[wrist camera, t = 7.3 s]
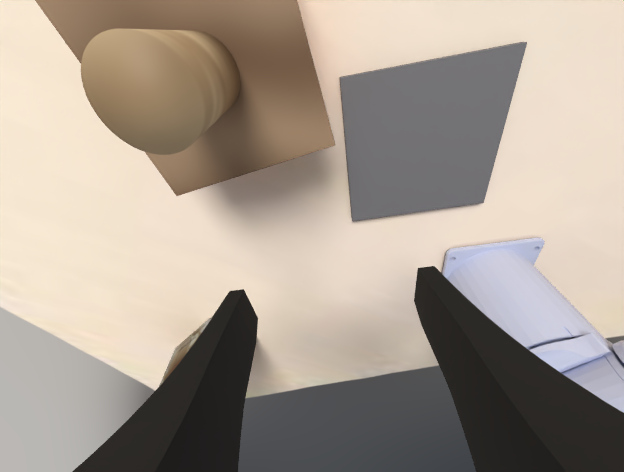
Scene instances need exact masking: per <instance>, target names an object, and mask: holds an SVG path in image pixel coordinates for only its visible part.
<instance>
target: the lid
mask: <svg viewBox="0 0 624 472" xmlns="http://www.w3.org/2000/svg"><path fill="white" fill-rule="evenodd" d="M35 1H36V2H37V3H38V5H39V6H40V8H41V9H42V10H43V12H44V13H45V15H46V16H47V17H48V19H49V20H50V21H51V23H52V24H53V26H54V27H55V28H56V30H57V31H58V32H59V34H60V35H61V37H62V38H63V39H64V41H65V42H66V44H67V45H68V46H69V48H70V49H71V50H72V52H73V53H74V55H75V56H76V57H77V59H78V60H79V62H80V63H81V76H82V82H83V87H84V90H85V93H86V95H87V98H88V100H89V102H90V104H91V106H92V107H93V109H94V111H95V112H96V114H97V115H98V117H99V118H100V119H101V120H102V122H103V123H104V124H105V125H106V126H107V127H108V128H109V129H110V130H111V131H112V132H113V133H114V134H115V135H116V136H118V137H119V138H120V139H122V140H123V141H124V142H126V143H128V144H129V145H131V146H133V147H135V148H137V149H139V150H142V151H145V153H146V154H147V155H148V157H149V158H150V160H151V161H152V162H153V164H154V165H155V167H156V168H157V169H158V171H159V172H160V173H161V175H162V176H163V178H164V179H165V180H166V182H167V183H168V184H169V186H170V187H171V189H172V190H173V191H174V193H175V194H176V196H179V195H182V194H185V193H188V192H191V191H194V190H197V189H200V188H203V187H207V186H210V185H213V184H216V183H219V182H222V181H225V180H228V179H231V178H235V177H238V176H241V175H244V174H247V173H250V172H253V171H256V170H259V169H263V168H266V167H269V166H272V165H275V164H278V163H281V162H284V161H287V160H291V159H294V158H297V157H300V156H303V155H306V154H309V153H312V152H315V151H319V150H322V149H325V148H328V147H331V146H334V145H335V142H334V138H333V135H332V131H331V127H330V123H329V120H328V116H327V112H326V108H325V105H324V101H323V97H322V93H321V90H320V86H319V82H318V78H317V74H316V71H315V67H314V63H313V59H312V56H311V52H310V48H309V44H308V41H307V37H306V33H305V29H304V26H303V22H302V18H301V14H300V11H299V7H298V3H297V0H35Z"/></svg>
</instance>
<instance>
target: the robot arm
mask: <svg viewBox="0 0 624 472" xmlns="http://www.w3.org/2000/svg"><path fill="white" fill-rule="evenodd" d="M544 242H545V241H544V240H543V239H542V238H530V239H522V240H514V241H506V242H499V243H491V244H483V245H475V246H467V247H459V248H452V249H449V250H448V251H447V252H446V256H445V261H444V266H443V271H442V273H441V272H440V271H439V270H438V269H437V268H436V267H434V266H431V267H423V268H418V272H417V281H416V290H415V298H414V302H415V305H416V308H417V312H418V315H419V318H420V321H421V324H422V327H423V329H424V331H425V334H426V336H427V338H428V341H429V343H430V345H431V347H432V350H433V352H434V354H435V357H436V359H437V361H438V363H439V366H440V368H441V370H442V372H443V375H444V377H445V379H446V382H447V384H448V387H449V389H450V392H451V394H452V397H453V400H454V403H455V406H456V409H457V412H458V415H459V418H460V421H461V424H462V427H463V430H464V433H465V437H466V440H467V443H468V446H469V449H470V452H471V455H472V459H473V462H474V465H475V469H476V472H624V341H619V342H617V343H615V344H612V343H611V342H609V341H607V340H606V339H605V338H604V337H603V336H602V335H601V334H600V333H599V332H598V331H597V330H596V329H595V328H594V327H593V326H592V325H591V324H590V323H589V322H588V321H587V319H586V318H585V317H584V316H583V315H582V314H581V313H580V312H579V311H578V310H577V309H576V308H575V307H574V306H573V305H572V304H571V303H570V302H569V301H568V300H567V299H566V298H565V297H564V296H563V295H562V294H561V293H560V292H559V291H558V290H557V289H556V288H555V287H554V286H553V285H552V284H551V283H550V282H549V280H548V279H547V278H546V277H545V276H544V275H543V274H542V273H541V272H540V271H539V270H538V269H537V268H536V267H535V266H534V263H535V261H536V259H537V257H538V255H539V253H540V251H541V249H542V247H543V245H544ZM452 257H453V258H452ZM257 323H258V318H257V316H256V314H255V311H254V309H253V307H252V305H251V303H250V301H249V299H248V297H247V295H246V293H245V291H244V290H235V291H230V292H229V293H228V295H227V296H226V297H225V299H224V300H223V302H222V303H221V305H220V306H219V308H218V309H217V311H216V312H215V314H214V315H213V317H212V318H211V320H210V321H209V323H208V324H207V326H206V327H205V329H204V330H203V331H202V333H201V334H200V336H199V337H198V339H197V340H196V341H195V343H194V344H193V345H192V347H191V348H190V349H189V351H188V352H187V353H186V355H185V356H184V357H183V358H182V360H181V361H180V362H179V364H178V365H177V366H176V367H175V369H174V370H173V371H172V372H171V373H170V375H169V376H168V377H167V378H166V379H165V381H164V382H163V383H162V384H161V385H160V386H159V387H158V389H157V390H156V391H155V392H154V393H153V394H152V395H151V396H150V398H148V400H147V401H146V402H145V403H144V404H143V405H142V406H141V407H140V408H139V409H138V410H137V411H136V412H135V413H134V414H133V415H132V416H131V417H130V418H129V420H128V421H127V422H126V423H124V424H123V425H122V426H121V427H120V428H119V429H118V430H117V431H116V432H115V433H114V434H113V435H112V436H111V437H110V438H109V439H108V440H107V441H106V442H105V443H104V444H103V445H102V446H100V447H99V448H98V449H97V450H96V451H95V452H94V453H93V454H92V455H91V456H90V457H89V458H88V459H86V460H85V461H84V462H83V463H82V464H81V465H79V466H78V467H77V468H76V469H75V470H74V471H73V472H238V461H239V449H240V437H241V427H242V418H243V408H244V402H245V396H246V391H247V386H248V381H249V376H250V371H251V366H252V361H253V356H254V350H255V345H256V337H257Z"/></svg>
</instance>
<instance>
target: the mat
mask: <svg viewBox="0 0 624 472" xmlns="http://www.w3.org/2000/svg"><path fill="white" fill-rule="evenodd" d="M526 44H527V42H520V43H515V44H509V45H504V46H499V47H494V48H489V49H483V50H478V51H473V52H468V53H463V54H457V55H452V56H447V57H442V58H437V59H432V60H426V61H421V62H416V63H411V64H406V65H400V66H395V67H390V68H385V69H380V70H374V71H369V72H364V73H359V74H354V75H348V76H343V77H340V88H341V100H342V111H343V123H344V134H345V145H346V157H347V168H348V180H349V191H350V203H351V214H352V221H359V220H366V219H373V218H380V217H387V216H394V215H401V214H408V213H415V212H422V211H429V210H436V209H443V208H450V207H457V206H465V205H472V204H479V203H484V199H485V195H486V192H487V188H488V184H489V181H490V177H491V173H492V170H493V166H494V162H495V159H496V155H497V151H498V148H499V144H500V140H501V137H502V133H503V129H504V125H505V122H506V118H507V114H508V111H509V107H510V103H511V100H512V96H513V92H514V89H515V85H516V81H517V78H518V74H519V70H520V67H521V63H522V59H523V56H524V52H525V48H526Z"/></svg>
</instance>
